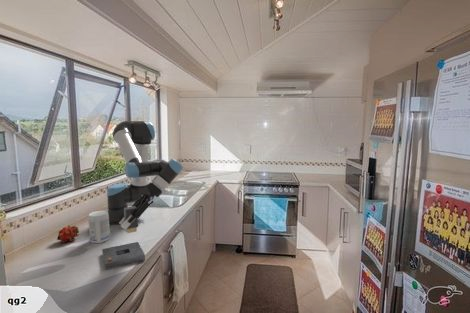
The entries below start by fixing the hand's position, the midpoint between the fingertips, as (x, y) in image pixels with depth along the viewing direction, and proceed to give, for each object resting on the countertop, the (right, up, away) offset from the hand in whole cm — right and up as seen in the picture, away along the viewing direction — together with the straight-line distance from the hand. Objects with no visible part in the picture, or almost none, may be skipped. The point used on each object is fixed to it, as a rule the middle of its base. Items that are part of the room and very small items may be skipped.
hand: (122, 226), depth 120 cm
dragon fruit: (-36, -13, +18) cm, 42 cm away
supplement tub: (-20, -13, +19) cm, 30 cm away
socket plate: (0, -14, 0) cm, 14 cm away
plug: (+3, -3, +2) cm, 5 cm away
